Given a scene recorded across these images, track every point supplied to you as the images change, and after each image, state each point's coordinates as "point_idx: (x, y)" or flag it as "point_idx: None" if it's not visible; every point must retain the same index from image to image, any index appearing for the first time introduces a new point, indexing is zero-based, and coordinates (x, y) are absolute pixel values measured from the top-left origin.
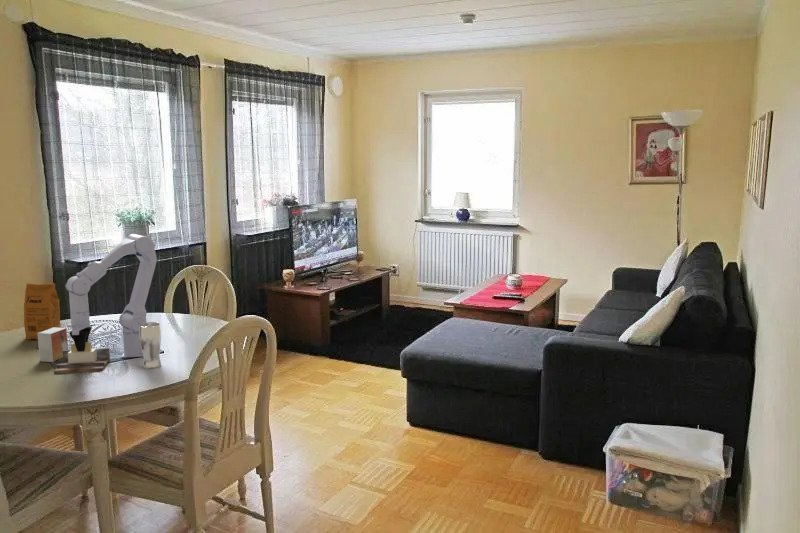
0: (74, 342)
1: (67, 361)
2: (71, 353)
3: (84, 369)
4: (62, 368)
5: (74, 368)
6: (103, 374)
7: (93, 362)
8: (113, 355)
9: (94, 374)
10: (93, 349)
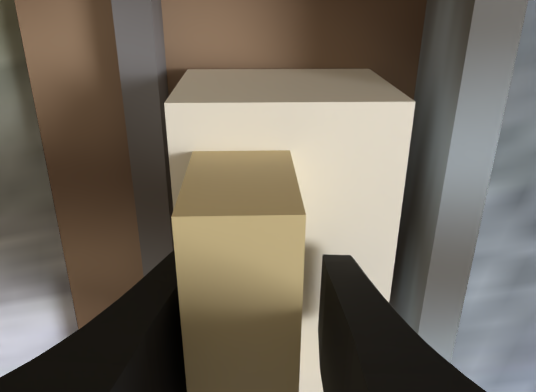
0: (72, 334)
1: (366, 11)
2: (171, 155)
3: (66, 248)
4: (85, 22)
5: (81, 157)
6: None
7: None
8: (525, 377)
9: (10, 317)
10: None
